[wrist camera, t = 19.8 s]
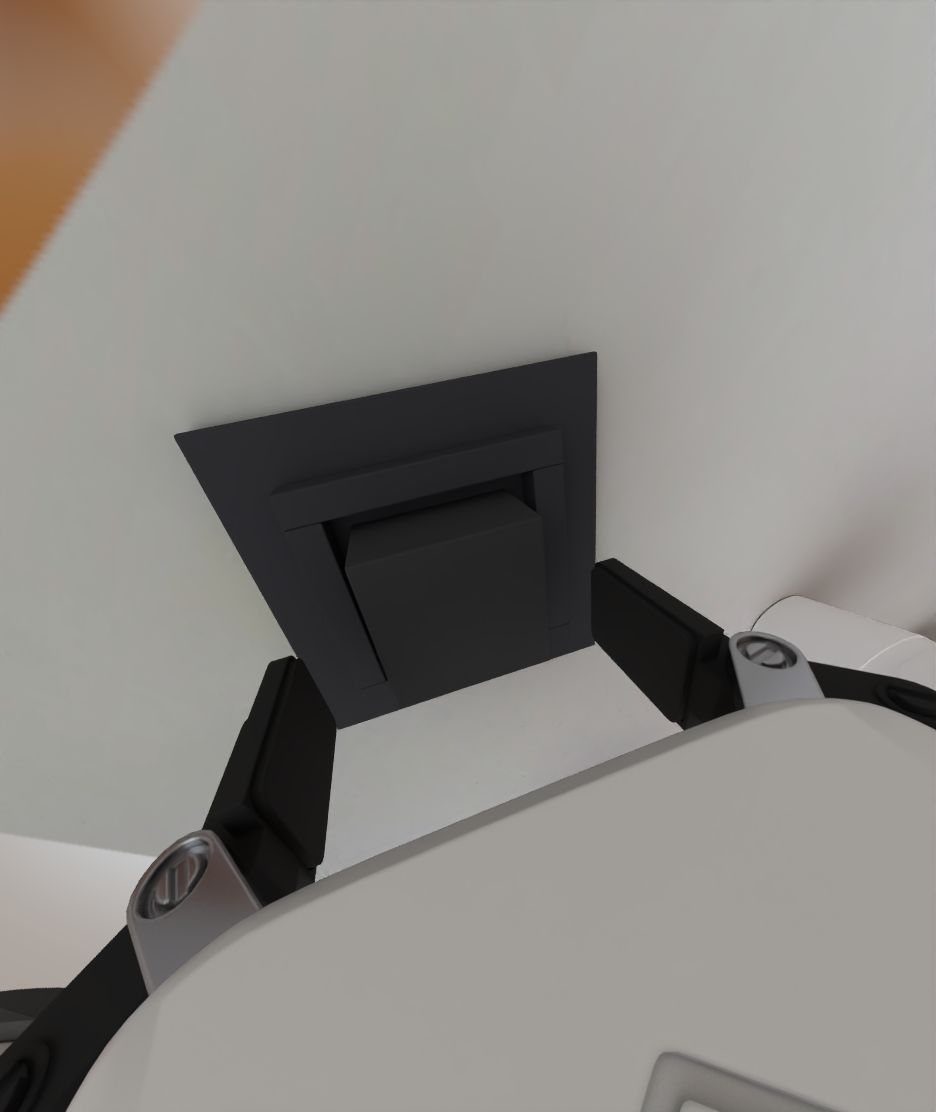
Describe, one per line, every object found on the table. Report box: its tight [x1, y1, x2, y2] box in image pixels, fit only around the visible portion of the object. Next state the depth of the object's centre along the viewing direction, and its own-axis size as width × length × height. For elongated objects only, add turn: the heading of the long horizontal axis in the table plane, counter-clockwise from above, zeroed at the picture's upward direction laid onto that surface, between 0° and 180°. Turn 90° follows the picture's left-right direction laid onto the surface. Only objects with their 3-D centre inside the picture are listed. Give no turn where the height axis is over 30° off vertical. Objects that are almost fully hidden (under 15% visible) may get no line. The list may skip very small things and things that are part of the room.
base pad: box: [174, 352, 597, 730], centre depth 14 cm, size 14×14×2 cm
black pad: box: [345, 489, 552, 709], centre depth 13 cm, size 6×6×4 cm
